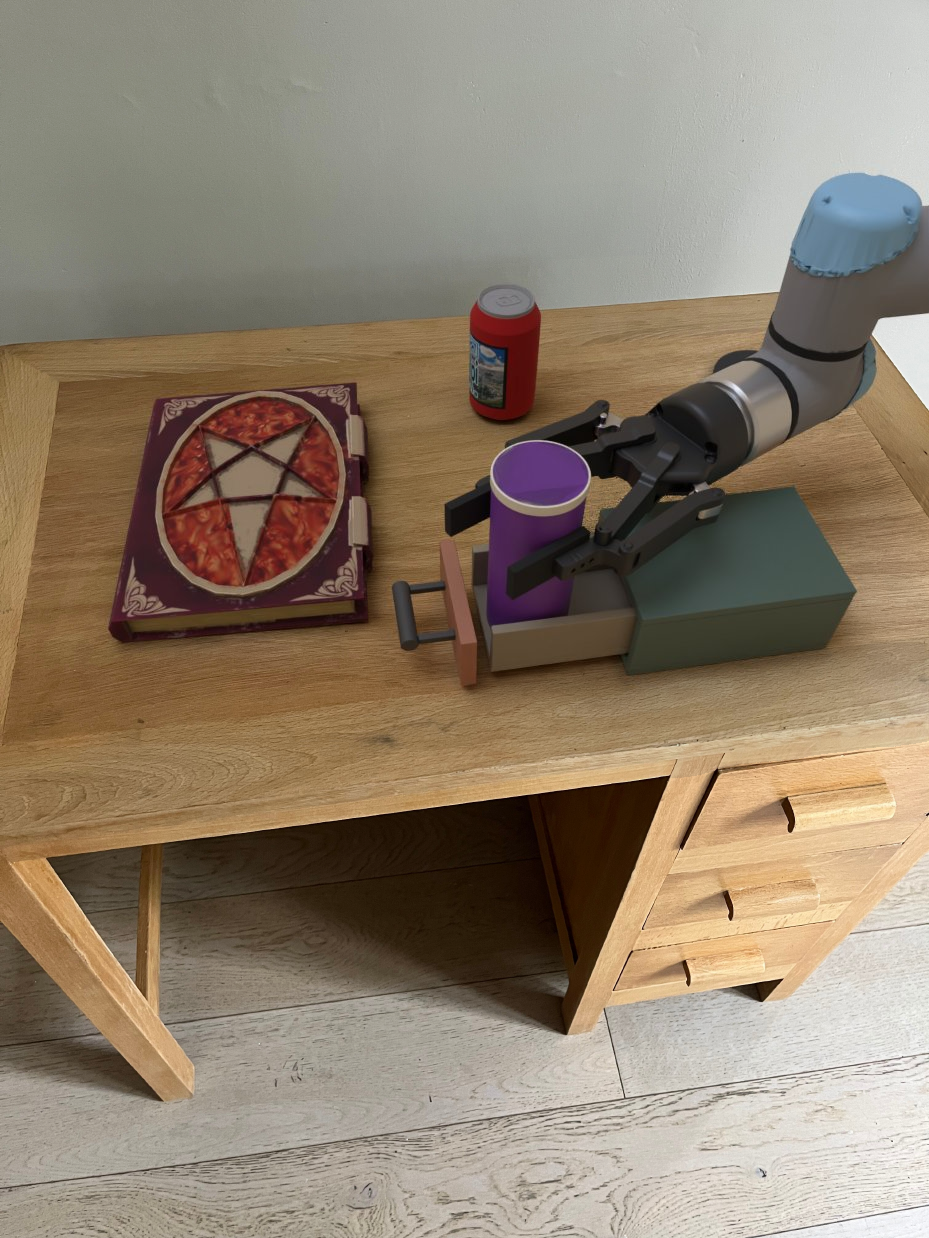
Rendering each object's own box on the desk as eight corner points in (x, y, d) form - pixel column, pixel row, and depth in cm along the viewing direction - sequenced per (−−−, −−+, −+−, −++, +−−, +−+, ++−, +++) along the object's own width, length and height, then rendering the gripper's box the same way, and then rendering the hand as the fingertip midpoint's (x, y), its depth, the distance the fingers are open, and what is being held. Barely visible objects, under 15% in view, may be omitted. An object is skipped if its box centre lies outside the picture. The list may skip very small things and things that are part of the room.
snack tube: (583, 606, 69) (609, 464, 58) (540, 661, 66) (558, 522, 54) (513, 571, 72) (524, 427, 60) (468, 622, 68) (470, 481, 56)
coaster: (810, 374, 92) (813, 368, 92) (779, 417, 88) (781, 411, 87) (732, 346, 95) (734, 340, 95) (698, 387, 91) (700, 380, 90)
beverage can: (459, 393, 90) (458, 287, 80) (517, 379, 91) (524, 274, 82) (483, 432, 86) (486, 325, 77) (544, 416, 88) (555, 310, 78)
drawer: (406, 693, 65) (402, 652, 61) (390, 591, 72) (386, 547, 67) (655, 659, 67) (668, 616, 63) (618, 562, 74) (627, 518, 70)
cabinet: (627, 675, 67) (642, 619, 62) (589, 567, 75) (600, 508, 69) (825, 648, 69) (857, 591, 64) (770, 545, 76) (794, 486, 71)
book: (160, 425, 87) (145, 384, 83) (367, 408, 88) (362, 367, 84) (118, 647, 70) (96, 608, 66) (377, 623, 71) (371, 583, 67)
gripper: (797, 533, 65) (563, 678, 57) (623, 403, 75) (402, 509, 66) (830, 457, 59) (576, 605, 51) (637, 326, 69) (397, 432, 61)
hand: (478, 551), depth 59 cm, fingers closed on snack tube, 6 cm apart
